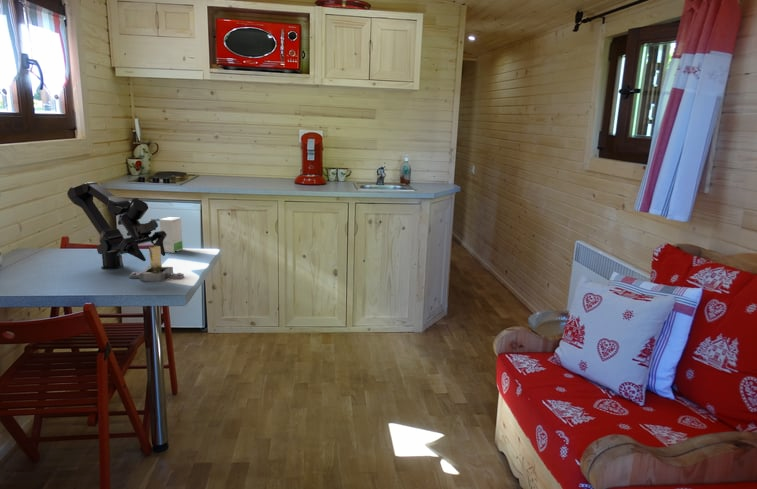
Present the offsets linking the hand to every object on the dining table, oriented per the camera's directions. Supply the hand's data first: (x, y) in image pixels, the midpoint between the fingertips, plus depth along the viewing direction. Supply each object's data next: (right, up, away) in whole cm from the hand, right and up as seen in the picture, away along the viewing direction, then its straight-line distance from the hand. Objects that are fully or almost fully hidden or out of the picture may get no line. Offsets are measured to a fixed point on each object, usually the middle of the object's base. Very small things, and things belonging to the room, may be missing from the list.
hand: (155, 257), depth 201 cm
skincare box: (-10, +2, +41) cm, 42 cm away
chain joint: (0, -8, +2) cm, 8 cm away
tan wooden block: (0, -8, +2) cm, 8 cm away
